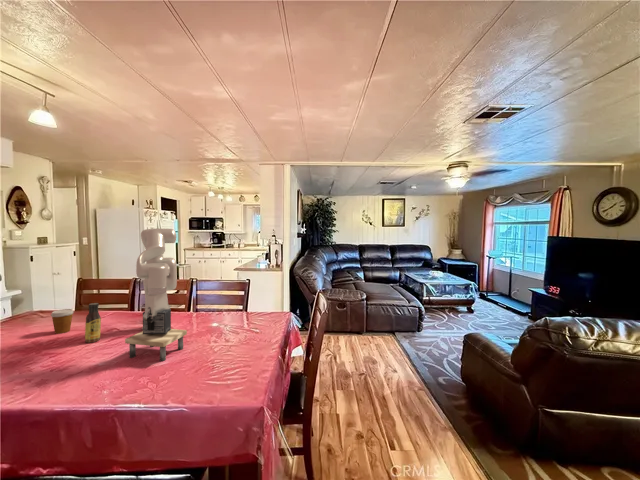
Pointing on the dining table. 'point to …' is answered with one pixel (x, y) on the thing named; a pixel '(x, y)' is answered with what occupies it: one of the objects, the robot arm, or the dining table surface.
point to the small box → (159, 323)
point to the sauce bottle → (93, 324)
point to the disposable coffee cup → (62, 320)
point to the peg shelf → (156, 341)
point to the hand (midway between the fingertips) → (157, 326)
